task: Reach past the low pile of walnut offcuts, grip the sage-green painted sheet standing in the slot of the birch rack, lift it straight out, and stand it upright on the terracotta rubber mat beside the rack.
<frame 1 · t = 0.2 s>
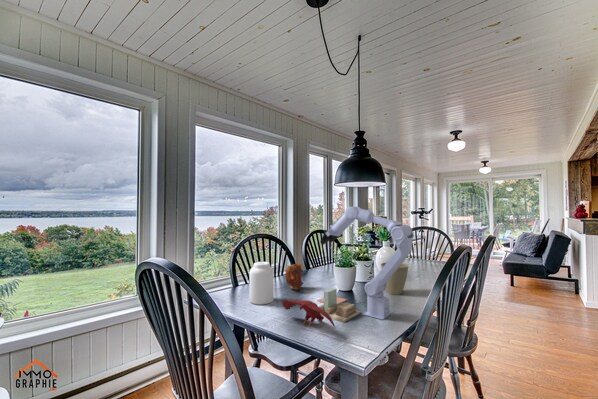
hand: (325, 242, 153), 31 cm above the table, tool tilted 45°, fingers open, 7 cm apart
orange-brown rough oval lump: (293, 290, 174), on the table
plant pot: (394, 293, 168), on the table
mat: (332, 300, 154), on the table
offcut pile: (345, 313, 133), point 1 cm above the table, touching rack
white jar: (261, 301, 154), on the table
rack: (337, 313, 136), on the table
sheet: (330, 309, 139), point 1 cm above the table, touching rack
red animal figurine: (310, 325, 123), on the table
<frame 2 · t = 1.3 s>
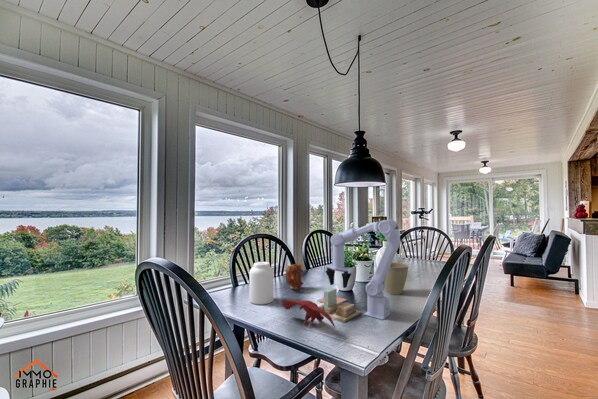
hand: (338, 285, 144), 10 cm above the table, tool pointing down, fingers open, 7 cm apart
nothing on the table moved.
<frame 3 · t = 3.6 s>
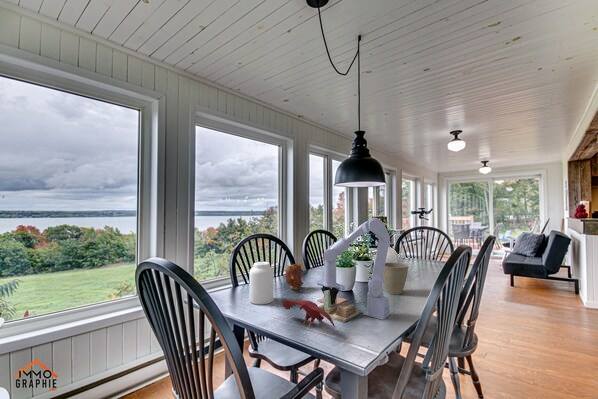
hand: (330, 303, 139), 4 cm above the table, tool pointing down, fingers closed on sheet, 2 cm apart
sheet: (330, 309, 139), point 1 cm above the table, touching gripper, rack
everything else where it was.
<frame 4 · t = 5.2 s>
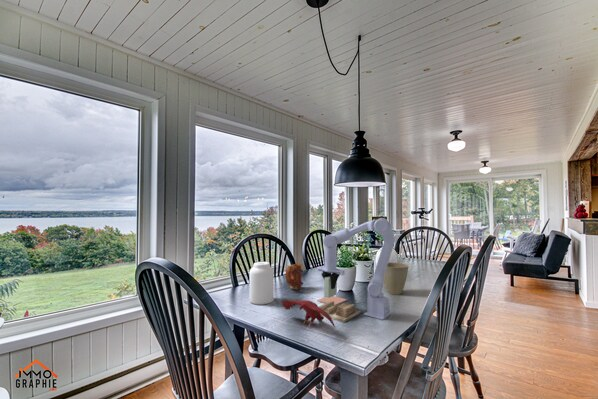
hand: (330, 288, 142), 10 cm above the table, tool pointing down, fingers closed on sheet, 2 cm apart
sheet: (330, 295, 141), point 7 cm above the table, touching gripper
everything else where it was.
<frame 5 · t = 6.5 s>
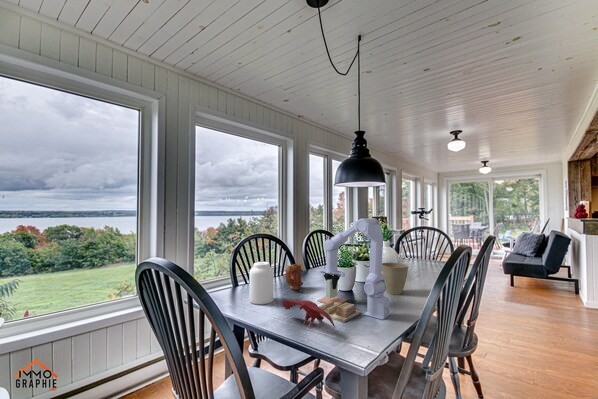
hand: (332, 288, 154), 6 cm above the table, tool pointing down, fingers closed on sheet, 2 cm apart
sheet: (331, 296, 154), point 2 cm above the table, touching gripper
everything else where it was.
when the fingers open (5 cm above the table, at t = 7.1 s): sheet stays where it is, resting on mat.
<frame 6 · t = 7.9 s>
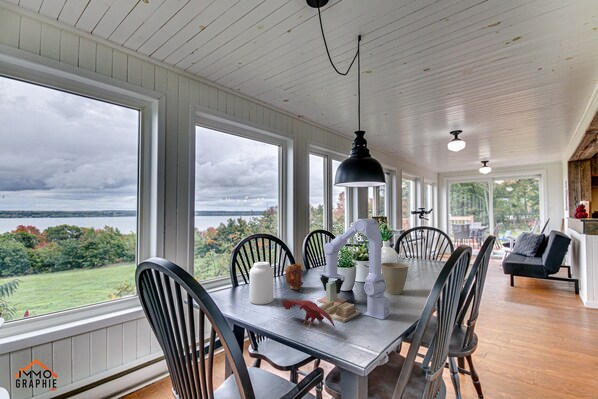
hand: (332, 291, 154), 5 cm above the table, tool pointing down, fingers open, 7 cm apart
sheet: (332, 299, 154), point 1 cm above the table, touching mat
everything else where it was.
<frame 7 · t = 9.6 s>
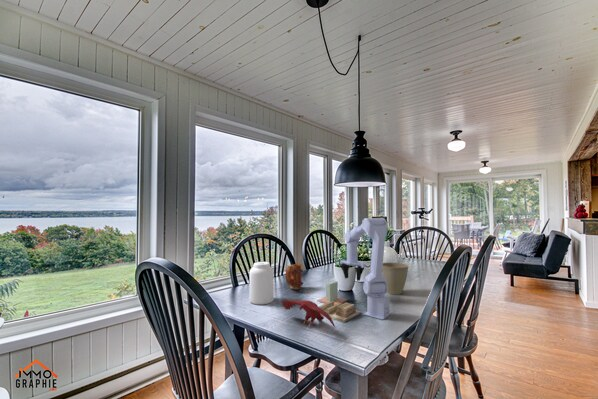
hand: (352, 279, 158), 10 cm above the table, tool pointing down, fingers open, 7 cm apart
nothing on the table moved.
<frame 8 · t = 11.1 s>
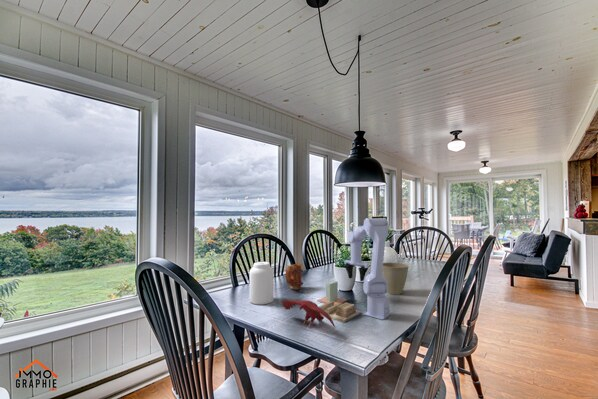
hand: (356, 279, 157), 10 cm above the table, tool pointing down, fingers open, 7 cm apart
nothing on the table moved.
at the end: sheet inside the target area (0.0 cm from its centre), point 0.6 cm above the table; sheet tilted 0°; the gripper is holding nothing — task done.
